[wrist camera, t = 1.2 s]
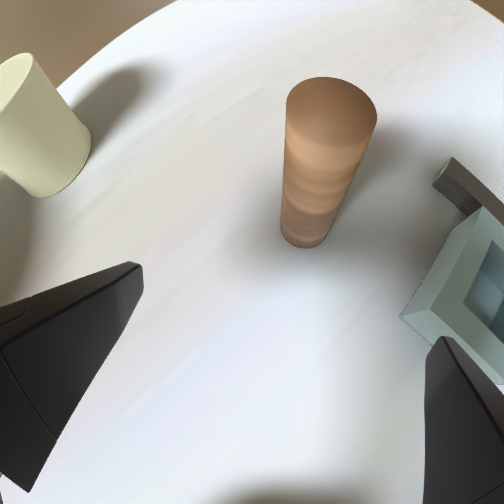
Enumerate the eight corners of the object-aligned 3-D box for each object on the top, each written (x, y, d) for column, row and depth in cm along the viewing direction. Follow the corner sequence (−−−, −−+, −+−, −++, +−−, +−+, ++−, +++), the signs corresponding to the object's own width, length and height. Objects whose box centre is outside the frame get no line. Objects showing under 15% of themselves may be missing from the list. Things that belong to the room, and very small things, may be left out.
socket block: (472, 381, 19) (509, 385, 14) (399, 316, 21) (429, 308, 17) (515, 293, 21) (551, 281, 16) (452, 229, 23) (483, 205, 18)
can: (34, 135, 29) (-24, 74, 17) (98, 113, 29) (46, 33, 17) (17, 206, 26) (-60, 152, 15) (85, 188, 26) (7, 111, 15)
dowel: (330, 247, 23) (386, 145, 11) (281, 249, 23) (290, 144, 11) (325, 202, 24) (365, 79, 12) (279, 203, 24) (282, 76, 12)
